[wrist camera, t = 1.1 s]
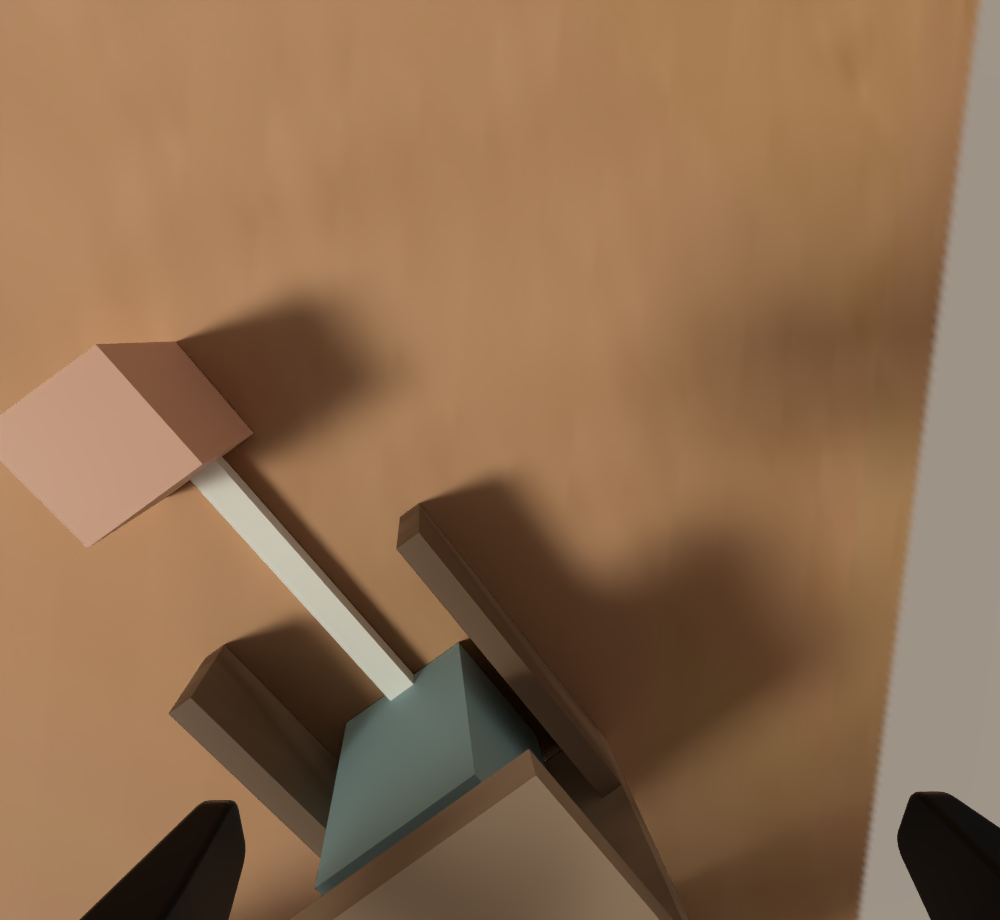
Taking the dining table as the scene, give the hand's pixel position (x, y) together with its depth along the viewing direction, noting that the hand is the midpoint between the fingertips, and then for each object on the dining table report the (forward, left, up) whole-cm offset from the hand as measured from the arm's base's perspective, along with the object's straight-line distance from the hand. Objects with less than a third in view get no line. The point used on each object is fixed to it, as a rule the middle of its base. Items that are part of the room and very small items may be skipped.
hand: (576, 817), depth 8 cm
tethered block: (-6, +1, -13) cm, 14 cm away
